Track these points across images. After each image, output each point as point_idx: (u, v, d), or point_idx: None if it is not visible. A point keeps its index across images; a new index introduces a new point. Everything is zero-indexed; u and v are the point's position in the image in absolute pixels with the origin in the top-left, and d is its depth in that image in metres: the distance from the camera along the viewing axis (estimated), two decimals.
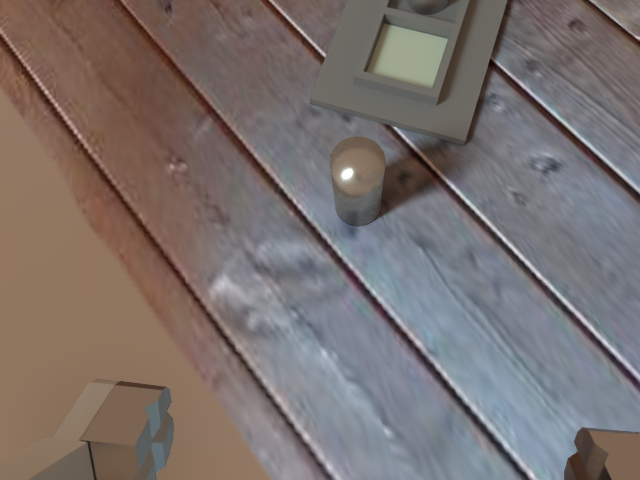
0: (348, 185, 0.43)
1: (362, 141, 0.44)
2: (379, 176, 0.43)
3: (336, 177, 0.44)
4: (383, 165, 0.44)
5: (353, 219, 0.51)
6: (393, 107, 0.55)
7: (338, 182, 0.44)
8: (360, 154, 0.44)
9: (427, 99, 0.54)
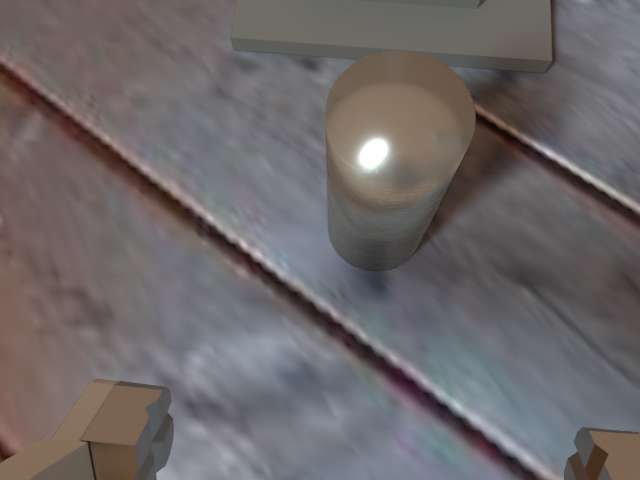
0: (392, 178, 0.16)
1: (397, 61, 0.17)
2: (468, 139, 0.16)
3: (355, 164, 0.16)
4: (470, 109, 0.16)
5: (381, 259, 0.23)
6: (398, 26, 0.28)
7: (362, 177, 0.16)
8: (403, 93, 0.17)
9: None
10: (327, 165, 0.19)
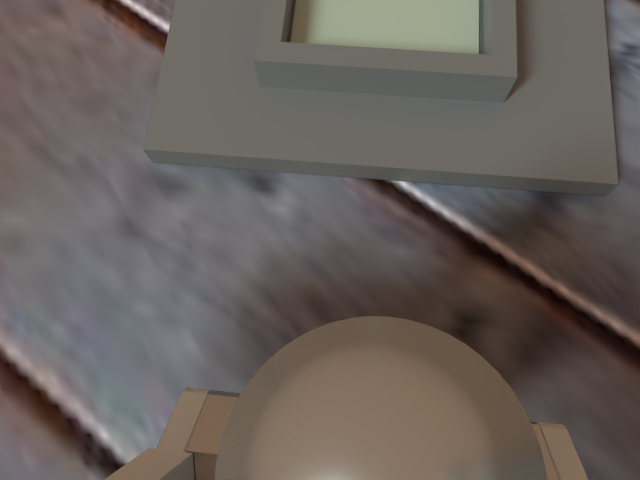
0: None
1: (375, 343, 0.08)
2: None
3: None
4: (535, 472, 0.07)
5: None
6: (389, 130, 0.19)
7: None
8: (386, 425, 0.08)
9: (481, 87, 0.19)
10: None
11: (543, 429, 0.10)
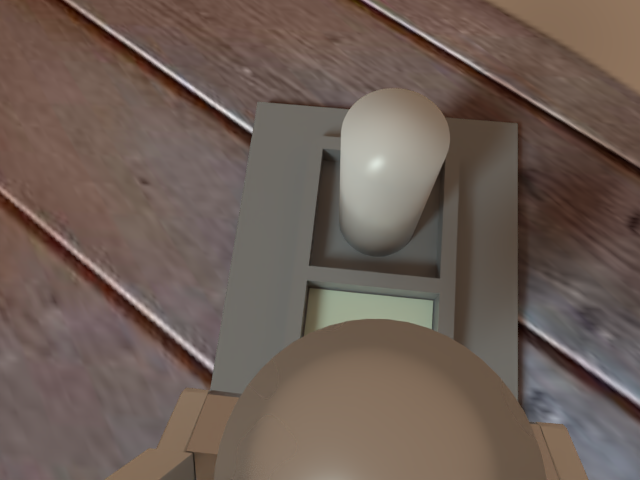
0: None
1: (374, 345, 0.08)
2: None
3: None
4: (535, 475, 0.07)
5: None
6: None
7: None
8: (386, 429, 0.08)
9: None
10: None
11: (543, 429, 0.10)
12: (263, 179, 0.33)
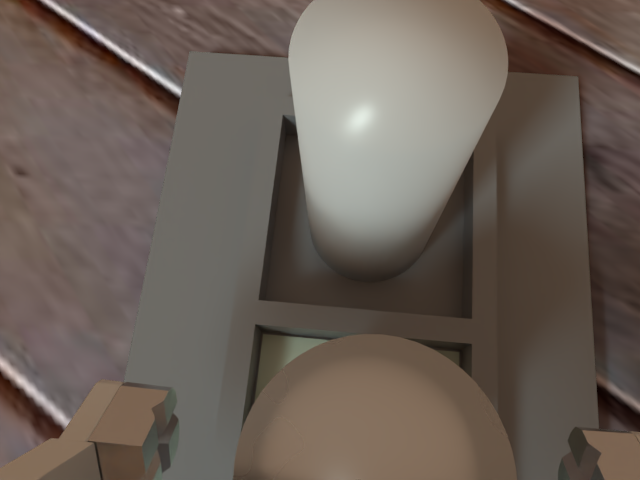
0: None
1: (370, 357, 0.09)
2: None
3: None
4: (506, 468, 0.09)
5: None
6: None
7: None
8: (380, 429, 0.09)
9: None
10: None
11: (639, 438, 0.10)
12: (195, 165, 0.22)
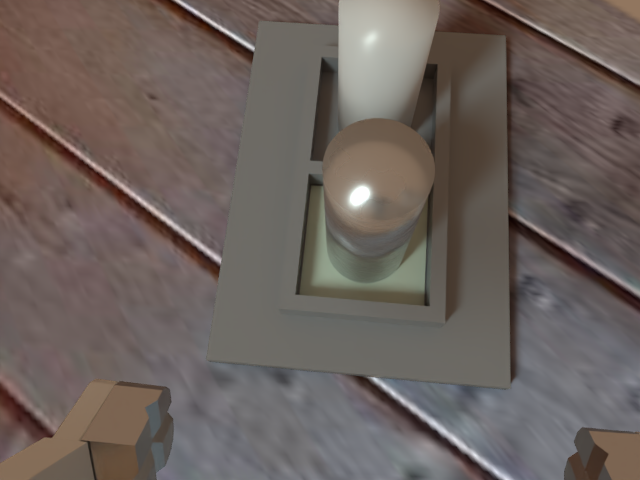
0: (372, 217, 0.21)
1: (376, 126, 0.22)
2: (429, 187, 0.21)
3: (344, 207, 0.21)
4: (431, 164, 0.22)
5: (370, 274, 0.29)
6: (365, 347, 0.29)
7: (350, 216, 0.21)
8: (380, 151, 0.22)
9: (423, 323, 0.29)
10: (324, 203, 0.24)
11: None
12: (265, 89, 0.35)
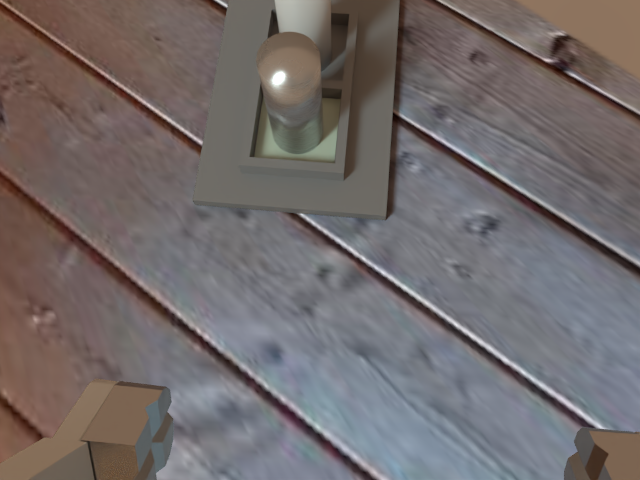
0: (283, 84, 0.37)
1: (288, 36, 0.39)
2: (316, 68, 0.38)
3: (268, 79, 0.37)
4: (318, 56, 0.38)
5: (297, 142, 0.45)
6: (294, 192, 0.46)
7: (271, 85, 0.38)
8: (289, 49, 0.38)
9: (331, 175, 0.45)
10: None
11: None
12: (234, 32, 0.51)
